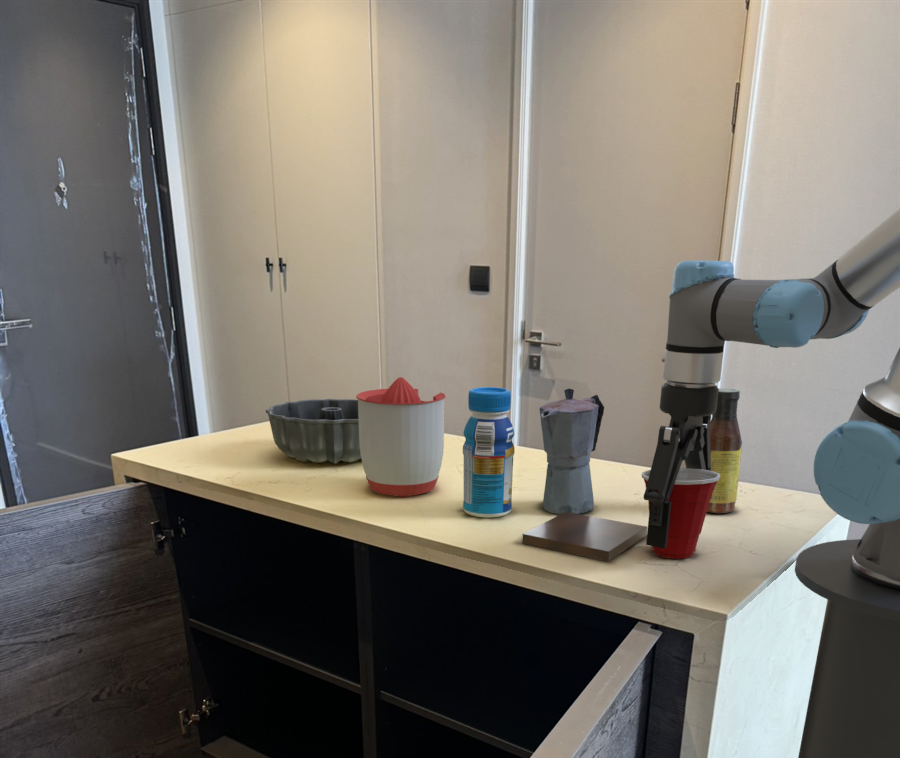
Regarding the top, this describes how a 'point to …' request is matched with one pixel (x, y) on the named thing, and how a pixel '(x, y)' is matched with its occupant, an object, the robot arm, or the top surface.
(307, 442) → the bundt pan
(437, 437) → the citrus juicer
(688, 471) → the plastic cup
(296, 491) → the top surface
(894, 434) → the robot arm
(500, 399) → the beverage bottle
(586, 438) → the moka pot
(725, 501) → the sauce bottle
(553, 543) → the trivet board
